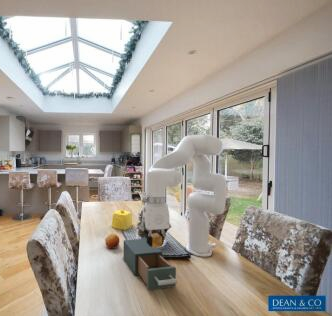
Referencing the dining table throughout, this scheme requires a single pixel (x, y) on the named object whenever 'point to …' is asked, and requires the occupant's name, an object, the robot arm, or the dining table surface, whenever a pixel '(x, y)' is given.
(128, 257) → the cabinet
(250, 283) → the dining table surface
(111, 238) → the fruit
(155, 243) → the block
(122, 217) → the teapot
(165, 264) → the drawer
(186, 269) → the dining table surface
